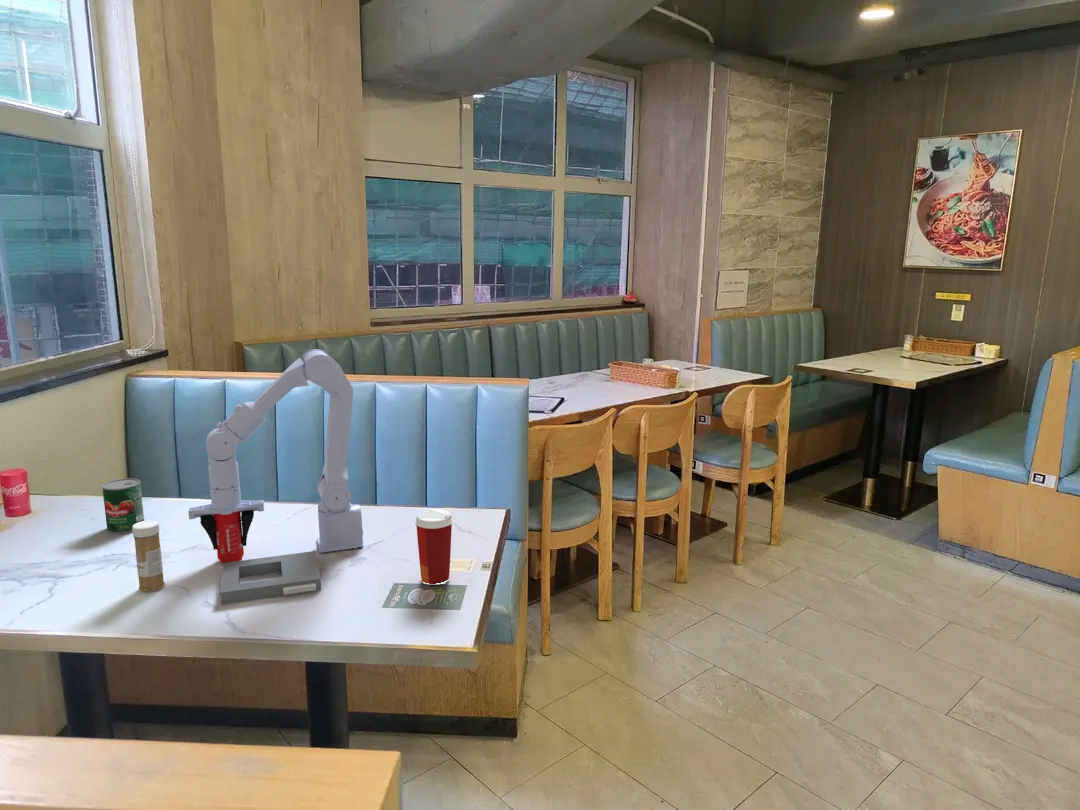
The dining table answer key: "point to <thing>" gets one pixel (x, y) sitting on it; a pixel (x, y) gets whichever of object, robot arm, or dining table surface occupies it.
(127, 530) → the canned tomato
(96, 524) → the dining table surface
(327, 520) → the robot arm
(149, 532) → the sprinkles bottle
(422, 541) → the paper cup
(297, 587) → the grey tray with recess
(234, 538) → the red soda can
